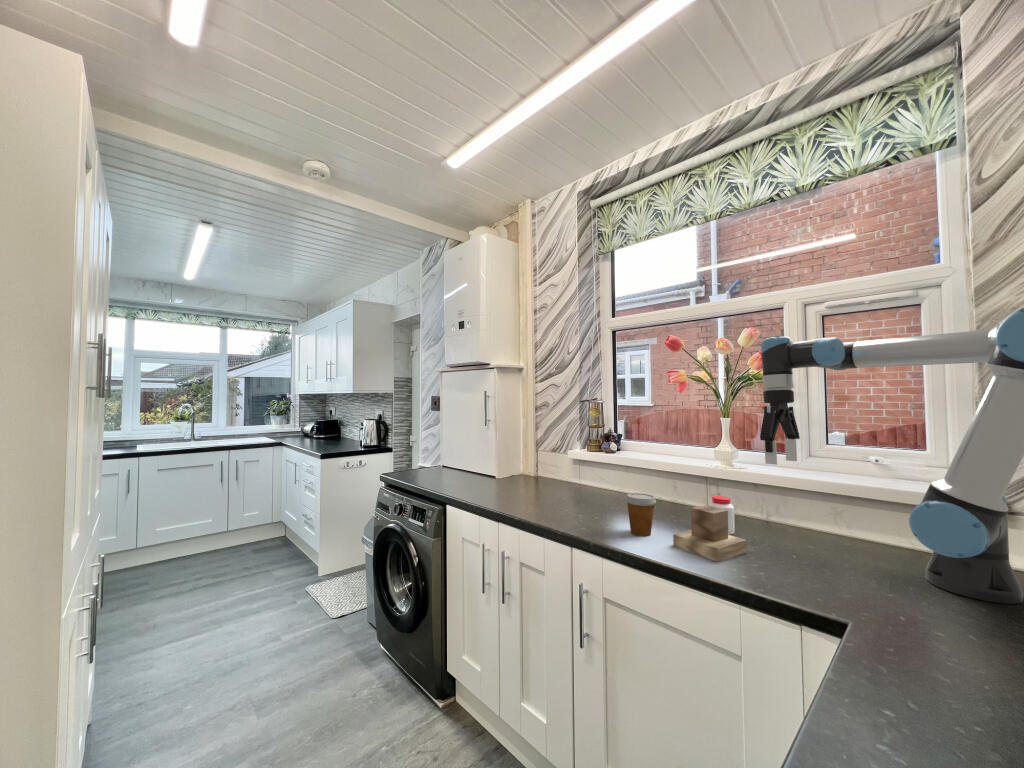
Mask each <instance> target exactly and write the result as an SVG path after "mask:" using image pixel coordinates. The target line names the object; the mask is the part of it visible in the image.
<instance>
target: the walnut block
mask: <svg viewBox="0 0 1024 768" xmlns="http://www.w3.org/2000/svg"><path fill="white" fill-rule="evenodd" d="M690 509H691V510H690V511H691V522H690V523H691V530H692V536H696V537H699V538H702V539H705V540H708V541H711V542H717V541H720V540H724V539H728V535H729V534H728V510H724V509H720V508H715V507H711V506H708V505H707V504H705V505H700V506H695V507H694V506H693V507H691V508H690Z"/></svg>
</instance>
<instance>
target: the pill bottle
mask: <svg viewBox="0 0 1024 768" xmlns="http://www.w3.org/2000/svg"><path fill="white" fill-rule="evenodd" d="M707 506H711V507H715V508H720V509H724V510H728V535H733V534H735V506H734V505H733V504H732V503H731V498H730V497H727V496H722V495H713V496H711V501H710V502H708V505H707Z"/></svg>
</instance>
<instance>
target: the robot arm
mask: <svg viewBox="0 0 1024 768" xmlns="http://www.w3.org/2000/svg"><path fill="white" fill-rule="evenodd" d="M760 352H761V353H760V355H761V364H762V365H761V367H762V379H761V383H762V385H763V389H764V391H763V392H762V393H763V403H765V404H769V405H764V407H763V418H762V424H761V428H760V434H759V439H760V441H764V455H765V457H764V458H765V459H764V461H765V464H767V465H778V453H777V440H775V438H776V437H777V436H776V434H777V432H778V429H779V426H780V425H781V428H782V431H783V433H784V435H785V437H786V438H784V449H785V461H788V462H798V454H797V453H798V452H797V451H798V450H797V440H800V438H801V436H800V432H799V427H798V425H797V421H796V416H795V412H794V406H791V405H788V404H792V403H794V402H795V392H794V390H792V389H794V388H795V387H794V375H793V373H794V372H793V371H794V370H793V369H803V368H821V369H830V370H834V371H844V370H847V369H865V368H866V369H867V368H884V367H885V368H887V367H888V368H889V367H910V366H912V367H913V366H929V365H930V366H933V365H936V366H937V365H952V364H953V365H954V364H955V365H956V364H974V363H976V364H979V363H980V364H981V363H986V367H987V368H988V369H989V370H990V372H991V373H992V375H993V376H992V378H991V380H990V382H989V384H988V386H987V388H986V390H985V393H984V394H983V396H982V398H981V401H980V403H979V404H978V405H977V406H978V407H977V409H976V410H975V413H974V415H973V416H972V419H971V421H970V423H969V426H968V427H967V430H966V432H965V433H964V436H963V437H962V440H961V442H960V444H959V446H958V448H957V449H956V452H955V455H954V457H953V458H952V461H951V463H950V464H949V467H948V469H947V471H946V474H945V475H944V477H943V478H942V479H941V478H940V479H938V480H934V481H931V482H930V483H929V485H928V488H927V490H926V492H925V493H924V496H923V499H922V500H921V502H920V503H919V504H917V505H916V506H914V508H913V509H912V510H911V512H910V514H909V518H908V524H909V529H910V531H911V532H912V534H913V536H914V537H915V538H916V539H917V540H918V542H919V543H920V544H922V545H923V546H924V547H925V548H928V549H929V550H930V551H931V552H932V554H931V555H930V558H929V561H928V563H927V564H926V567H925V570H924V571H925V575H924V576H925V580H926V581H927V582H928V583H930V584H931V585H933V586H935V587H938V588H940V589H943V590H945V591H947V592H951V593H953V594H957V595H959V596H963V597H968V598H970V599H976V600H980V601H985V602H991V603H995V604H996V603H998V604H1006V605H1014V604H1015V605H1017V604H1023V602H1024V591H1023V588H1022V586H1021V584H1020V581H1019V580H1018V578H1017V576H1016V574H1015V571H1014V570H1013V567H1012V565H1011V563H1010V554H1009V553H1010V550H1009V549H1010V547H1009V545H1010V544H1009V523H1008V512H1009V506H1008V503H1007V499H1006V497H1005V496H1004V495H1005V492H1006V490H1007V489H1008V487H1009V486H1010V485H1009V484H1010V483H1011V481H1012V479H1013V477H1014V475H1015V473H1016V471H1017V470H1018V467H1019V466H1020V464H1021V462H1022V460H1023V458H1024V307H1022V308H1020V309H1018V310H1016V311H1014V312H1013V313H1012V312H1011V313H1010V314H1009V315H1008V316H1007V317H1006V318H1004V319H1003V320H1002V321H1001V322H1000V323H998V324H997V325H995V326H994V327H993V328H990V329H981V330H971V331H969V330H968V331H962V332H961V331H959V332H947V333H939V334H938V333H935V334H927V335H926V334H925V335H917V336H916V335H915V336H914V335H913V336H905V337H903V336H902V337H893V338H892V337H891V338H881V339H872V340H871V339H870V340H861V341H860V340H859V341H849V342H848V341H847V342H843V341H842V340H841V339H840V338H839V337H836V336H835V337H820V338H816V339H809V340H804V341H803V340H802V341H794V342H792V339H791V337H789V336H773V337H767V338H765V339H763V340H762V341H761V351H760Z"/></svg>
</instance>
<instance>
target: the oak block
mask: <svg viewBox="0 0 1024 768" xmlns="http://www.w3.org/2000/svg"><path fill="white" fill-rule="evenodd" d="M672 536H673V537H672V538H673V540H672V541H673V544H672V545H673V547H675V548H678V549H681V550H683V551H687V552H690V553H691V554H695V555H698V556H701V557H704V558H706V559H710V560H713V561H715V562H718V563H720V562H721V561H725V560H728V559H731V558H733V557H737V556H740V555H742V554H743V555H744V554H745V553H747V552H748V551H747V539H745V538H742V537H737V536H734V535H732V534H728V539H724V540H720V541H717V542H711V541H708V540H705V539H702V538H699V537H696V536H692V529H690V530H689V529H687V530H684V531H680V532H676V533H673V535H672Z"/></svg>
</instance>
